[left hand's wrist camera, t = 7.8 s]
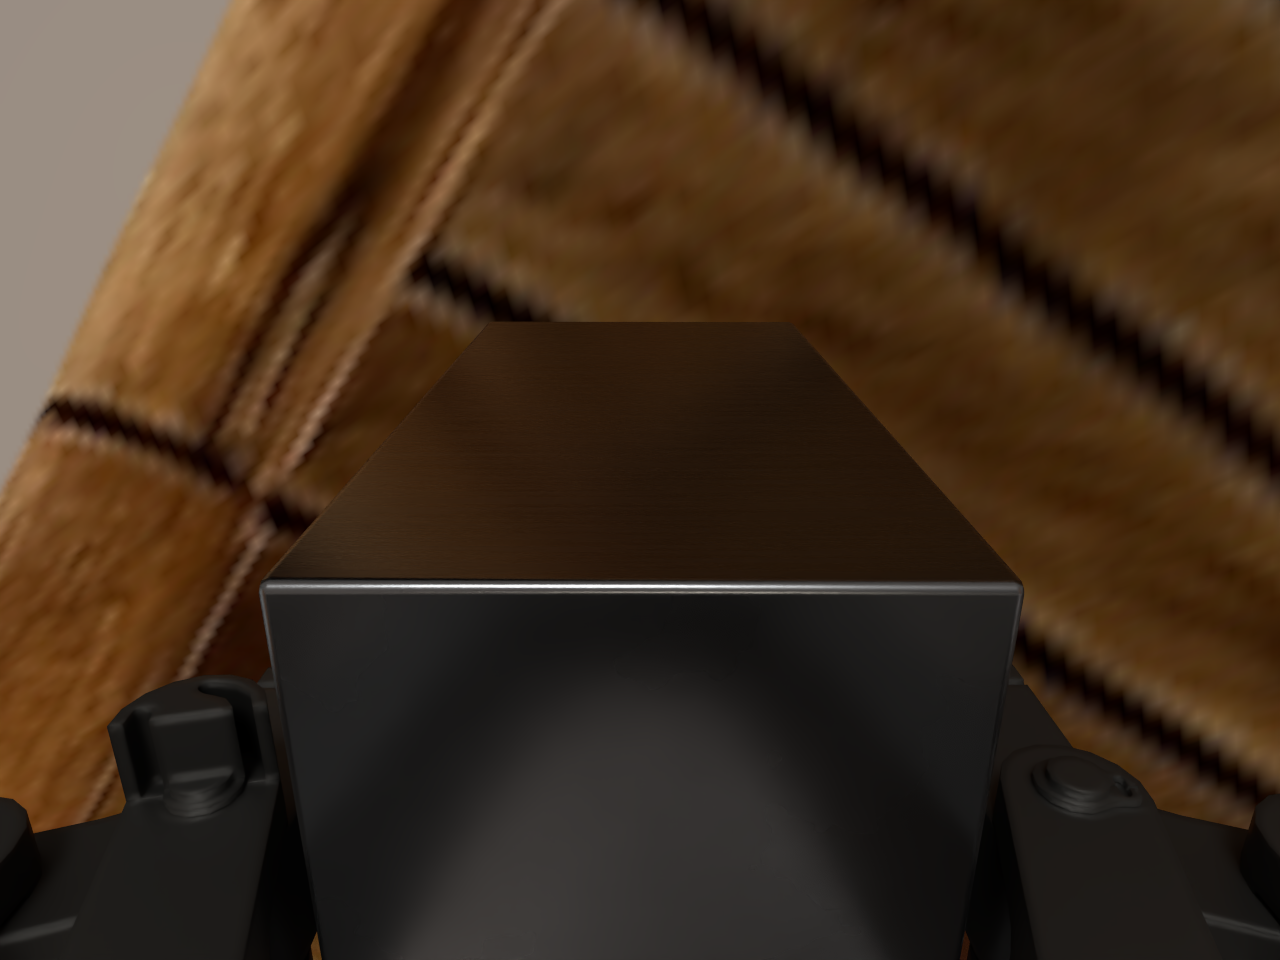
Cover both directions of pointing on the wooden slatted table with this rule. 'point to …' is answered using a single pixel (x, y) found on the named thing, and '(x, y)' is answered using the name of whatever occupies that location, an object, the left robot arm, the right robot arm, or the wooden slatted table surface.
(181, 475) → the wooden slatted table surface
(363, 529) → the bar
